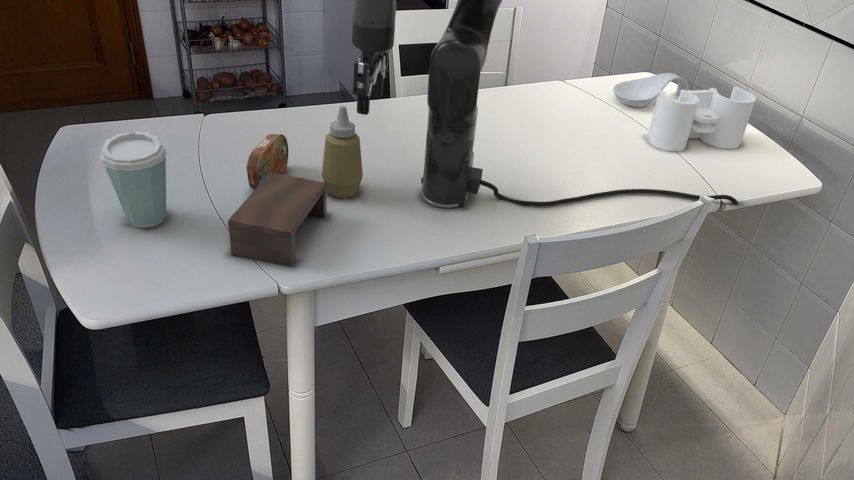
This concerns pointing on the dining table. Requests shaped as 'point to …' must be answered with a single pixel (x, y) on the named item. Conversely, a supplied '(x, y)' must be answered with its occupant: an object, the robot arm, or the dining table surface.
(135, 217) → the disposable coffee cup
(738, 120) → the bracket
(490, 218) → the dining table surface
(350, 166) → the squeeze bottle
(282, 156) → the tin
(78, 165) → the dining table surface
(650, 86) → the spoon rest
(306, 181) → the stand
